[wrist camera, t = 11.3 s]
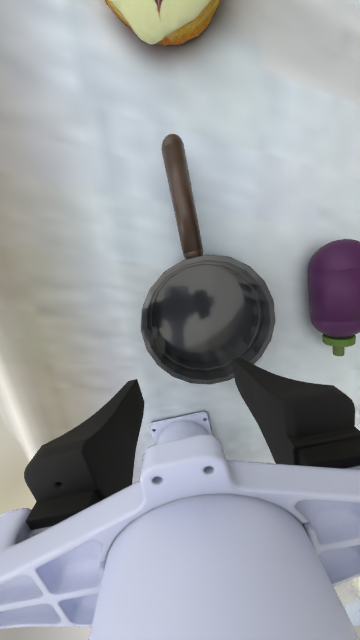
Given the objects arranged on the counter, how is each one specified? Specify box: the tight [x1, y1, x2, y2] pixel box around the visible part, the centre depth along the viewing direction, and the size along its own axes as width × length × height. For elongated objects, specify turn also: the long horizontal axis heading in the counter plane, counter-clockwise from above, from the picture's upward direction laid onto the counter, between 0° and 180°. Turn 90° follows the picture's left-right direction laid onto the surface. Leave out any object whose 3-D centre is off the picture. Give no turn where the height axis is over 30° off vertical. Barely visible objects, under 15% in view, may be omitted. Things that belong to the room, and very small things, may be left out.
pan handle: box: [162, 134, 203, 259], centre depth 17 cm, size 10×2×2 cm, turn 13°
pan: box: [141, 255, 275, 384], centre depth 21 cm, size 13×13×4 cm
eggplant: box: [308, 239, 360, 356], centre depth 20 cm, size 12×5×5 cm, turn 13°
